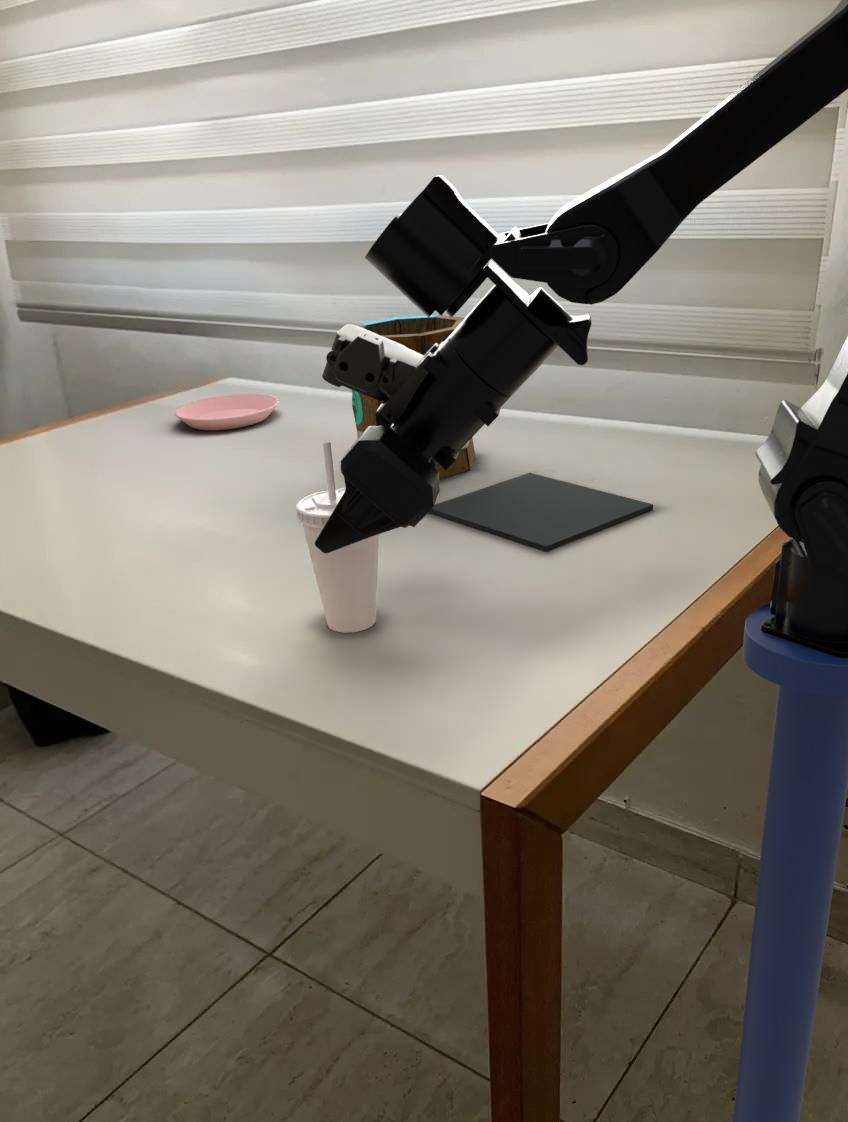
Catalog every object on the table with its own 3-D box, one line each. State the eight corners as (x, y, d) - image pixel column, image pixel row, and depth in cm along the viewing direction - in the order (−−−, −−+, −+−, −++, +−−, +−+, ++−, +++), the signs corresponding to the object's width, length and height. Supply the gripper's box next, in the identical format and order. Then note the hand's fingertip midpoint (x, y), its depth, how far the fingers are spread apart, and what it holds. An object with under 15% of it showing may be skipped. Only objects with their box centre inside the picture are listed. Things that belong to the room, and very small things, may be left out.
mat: (653, 509, 94) (653, 504, 94) (546, 551, 87) (546, 546, 87) (529, 477, 106) (529, 472, 106) (426, 512, 99) (426, 507, 99)
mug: (493, 472, 109) (488, 327, 102) (369, 489, 107) (356, 343, 100) (445, 429, 126) (439, 303, 120) (338, 444, 124) (326, 317, 118)
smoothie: (338, 599, 82) (320, 428, 76) (408, 611, 79) (395, 433, 72) (293, 632, 77) (269, 451, 71) (365, 646, 74) (347, 458, 68)
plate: (196, 440, 132) (194, 425, 131) (163, 420, 144) (161, 406, 143) (296, 419, 137) (295, 405, 136) (257, 402, 149) (255, 388, 148)
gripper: (410, 263, 74) (282, 418, 81) (363, 303, 58) (207, 493, 65) (521, 368, 76) (386, 510, 83) (505, 435, 60) (339, 605, 67)
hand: (333, 525), depth 75 cm, fingers open, 9 cm apart
